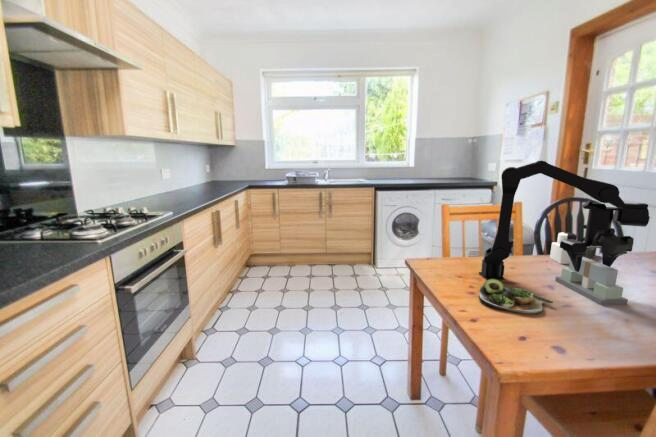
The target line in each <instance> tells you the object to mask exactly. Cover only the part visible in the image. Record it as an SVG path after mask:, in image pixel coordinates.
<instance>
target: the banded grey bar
mask: <svg viewBox="0 0 656 437" xmlns="http://www.w3.org/2000/svg"><path fill="white" fill-rule="evenodd" d="M568 267H569V270H571V271H574V272H576V273H578V274H580V275H582V276H584V277H587V278H589V279H591V280H593V281H595V282H597V283H600V284H602V285H604V286H615V285H617V279H618V274H619V270H618V269H616V268H613V267H612V266H611V267H609V266H606V265H604V264H603V263H601V262H598V261H596V260H593V259H591V258H586V257H582V262H581V267H580V270H579V272H577V271H575V269H574V267H573V264H572V262H571V259H570V263H569V264H568Z"/></svg>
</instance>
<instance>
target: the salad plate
mask: <svg viewBox="0 0 656 437" xmlns="http://www.w3.org/2000/svg"><path fill="white" fill-rule="evenodd" d="M478 294H479V295H478V299H479V301H480V302H481V303H482V304H483V305H485V306H487V307H489V308H492V309H495V310H498V311H499V310H500V311H506V312H510V313H511V312H512V313H518V314H529V315H530V314H531V315H532V314H538V313H541V312H543V311H544V310H543V304H554V302H553V301H552V300H550V299H547V298H544V297H541V296H538V295H537V294H536V293H535V292H533V291H530V290H527V289H524V288H520V287H518V288H517V287H511V286H508V285H505V284H504V283H503V282H502V280H501V281H500V280H496V279H489V280H487V279H486V280H485V281H484V283H483V285H481V286H480V289H479V293H478ZM514 306H522V307H527V308H528V309H524V310H523V309H514V308H512V307H514Z"/></svg>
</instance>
